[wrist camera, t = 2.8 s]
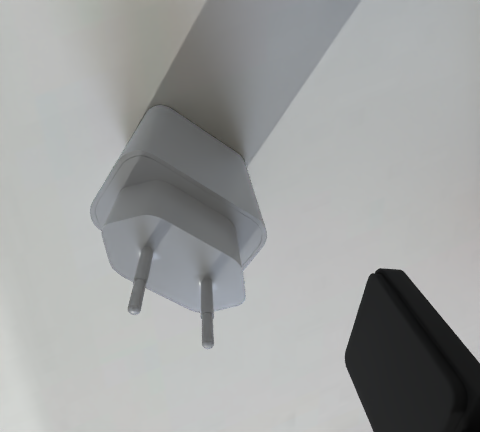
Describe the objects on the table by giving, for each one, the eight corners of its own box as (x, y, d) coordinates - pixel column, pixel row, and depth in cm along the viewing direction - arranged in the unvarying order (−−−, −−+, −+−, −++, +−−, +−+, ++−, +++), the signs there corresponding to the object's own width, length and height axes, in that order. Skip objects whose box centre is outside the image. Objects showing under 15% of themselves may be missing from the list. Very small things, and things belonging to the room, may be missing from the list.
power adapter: (216, 210, 21) (233, 415, 10) (121, 153, 19) (17, 326, 8) (251, 162, 20) (313, 332, 9) (155, 97, 18) (88, 211, 7)
